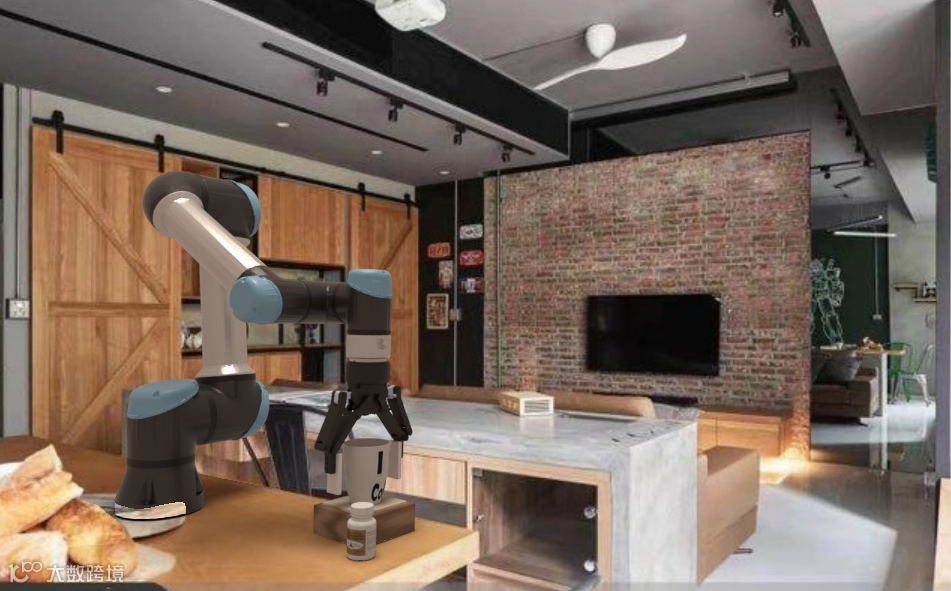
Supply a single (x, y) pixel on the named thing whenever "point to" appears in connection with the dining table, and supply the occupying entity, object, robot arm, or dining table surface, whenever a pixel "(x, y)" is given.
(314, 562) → the dining table surface
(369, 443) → the cup
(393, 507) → the pedestal
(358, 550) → the pill bottle
